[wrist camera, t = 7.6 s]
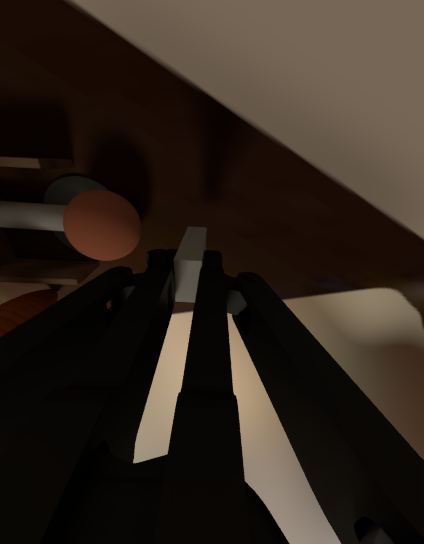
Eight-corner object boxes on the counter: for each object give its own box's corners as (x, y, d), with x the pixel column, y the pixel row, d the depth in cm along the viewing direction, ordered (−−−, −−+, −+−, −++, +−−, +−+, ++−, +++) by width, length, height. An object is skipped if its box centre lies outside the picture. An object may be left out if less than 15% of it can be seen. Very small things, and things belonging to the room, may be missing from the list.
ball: (32, 233, 16) (89, 218, 21) (93, 285, 17) (133, 258, 22) (58, 172, 13) (115, 172, 18) (129, 238, 14) (164, 220, 19)
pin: (60, 206, 17) (-42, 199, 17) (69, 238, 18) (-26, 232, 18) (79, 201, 20) (-10, 194, 19) (85, 229, 21) (2, 223, 20)
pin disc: (143, 226, 21) (142, 227, 20) (95, 268, 23) (94, 269, 23) (76, 155, 18) (75, 155, 17) (28, 211, 20) (26, 212, 20)
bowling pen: (72, 159, 18) (13, 158, 12) (98, 266, 23) (64, 297, 18) (-42, 153, 17) (-152, 149, 12) (10, 262, 23) (-51, 292, 17)
